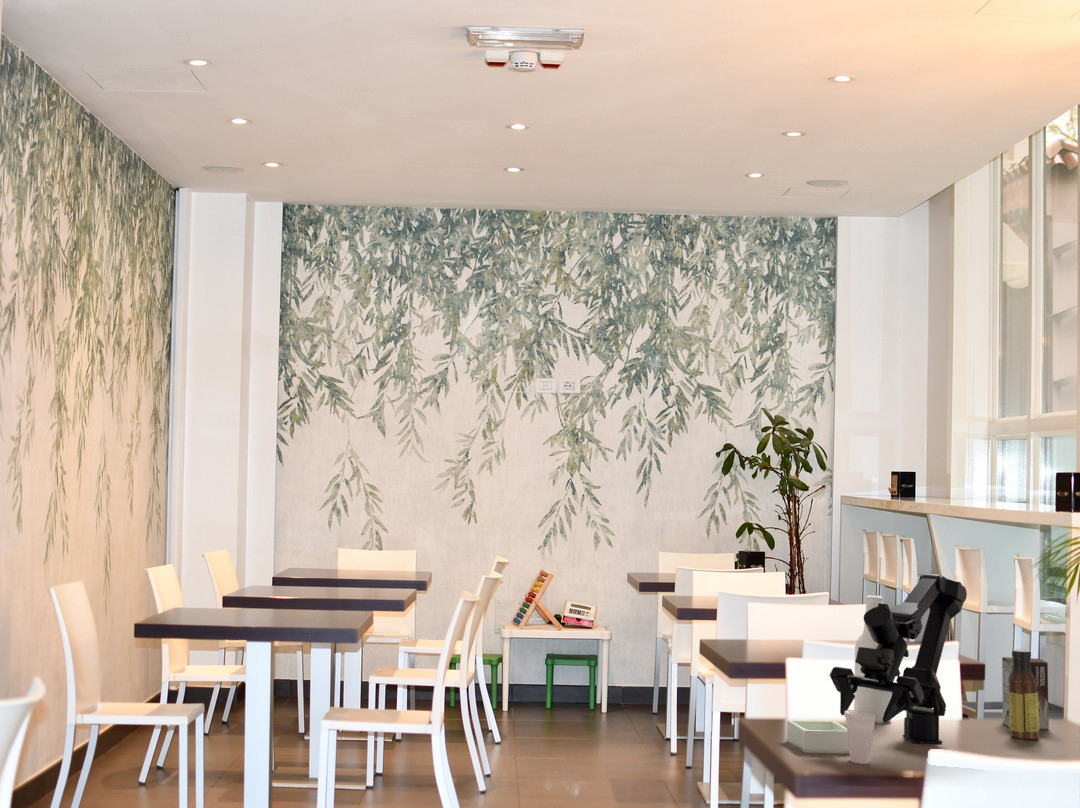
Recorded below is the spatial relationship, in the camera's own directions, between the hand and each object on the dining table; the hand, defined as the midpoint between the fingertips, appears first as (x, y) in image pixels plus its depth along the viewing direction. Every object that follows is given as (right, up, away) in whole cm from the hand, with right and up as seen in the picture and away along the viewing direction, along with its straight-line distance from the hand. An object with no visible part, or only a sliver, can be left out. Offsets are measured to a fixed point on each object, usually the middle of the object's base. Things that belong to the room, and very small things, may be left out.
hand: (862, 717), depth 219 cm
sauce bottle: (+46, -13, +29) cm, 56 cm away
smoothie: (-1, -9, -1) cm, 9 cm away
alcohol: (+15, -13, +42) cm, 47 cm away
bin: (-6, -9, +10) cm, 15 cm away
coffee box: (+52, -15, +42) cm, 69 cm away
